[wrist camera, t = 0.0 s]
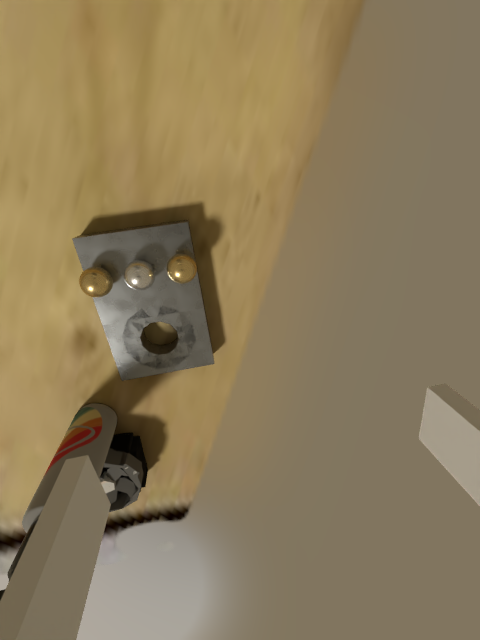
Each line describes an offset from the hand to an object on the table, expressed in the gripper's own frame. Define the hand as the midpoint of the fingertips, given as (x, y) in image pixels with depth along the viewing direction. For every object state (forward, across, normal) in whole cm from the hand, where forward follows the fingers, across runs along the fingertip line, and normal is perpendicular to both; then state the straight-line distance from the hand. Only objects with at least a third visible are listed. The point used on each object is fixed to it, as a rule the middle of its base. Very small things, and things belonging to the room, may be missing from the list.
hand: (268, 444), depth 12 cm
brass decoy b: (+24, -4, +2) cm, 24 cm away
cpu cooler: (+28, -20, -27) cm, 44 cm away
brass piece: (+24, -13, +2) cm, 27 cm away
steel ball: (+24, -8, +2) cm, 25 cm away
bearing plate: (+28, -8, -3) cm, 29 cm away
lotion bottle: (+28, -20, -19) cm, 40 cm away
